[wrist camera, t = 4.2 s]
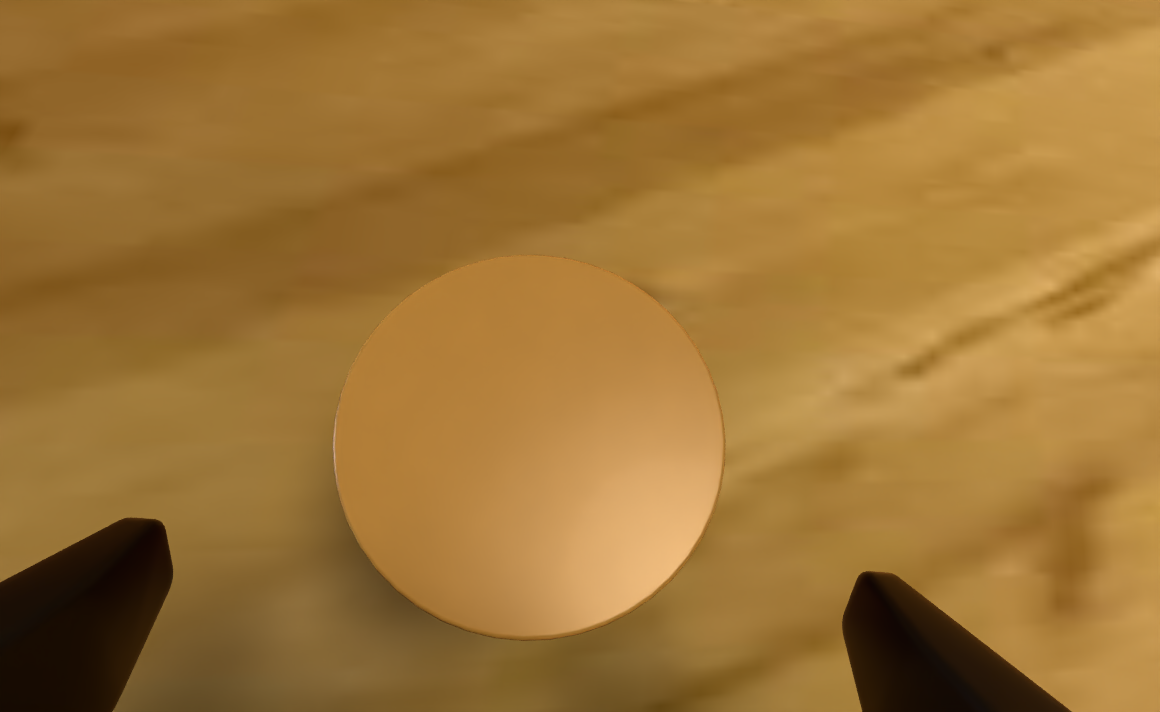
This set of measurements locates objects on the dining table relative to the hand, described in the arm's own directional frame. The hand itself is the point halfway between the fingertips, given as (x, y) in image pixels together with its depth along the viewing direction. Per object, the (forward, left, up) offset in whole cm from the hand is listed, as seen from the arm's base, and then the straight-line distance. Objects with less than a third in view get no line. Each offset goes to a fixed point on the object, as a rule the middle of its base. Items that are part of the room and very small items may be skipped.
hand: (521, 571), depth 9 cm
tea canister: (+1, +2, -9) cm, 9 cm away
